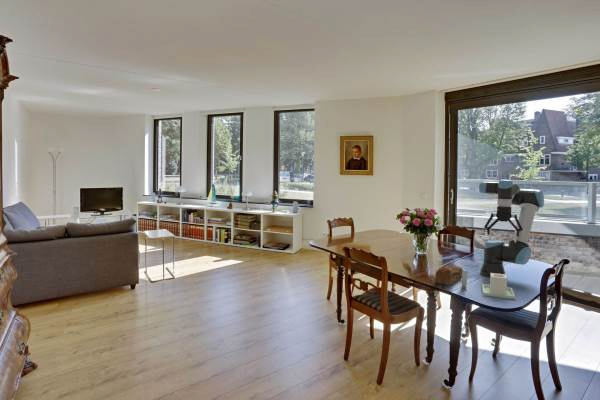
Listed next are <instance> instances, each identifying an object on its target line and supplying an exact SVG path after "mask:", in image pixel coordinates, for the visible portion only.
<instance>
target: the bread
mask: <svg viewBox="0 0 600 400" xmlns="http://www.w3.org/2000/svg"><path fill="white" fill-rule="evenodd" d="M462 270H463V267H460V266H458V265H455V264H446V265H443V266H441V267H439V268H438V269H437V270H436V271H435V282H436V283H437V284H440V285H445V286H452V285H454V284H456V283H458V282H459V281H462Z"/></svg>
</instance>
